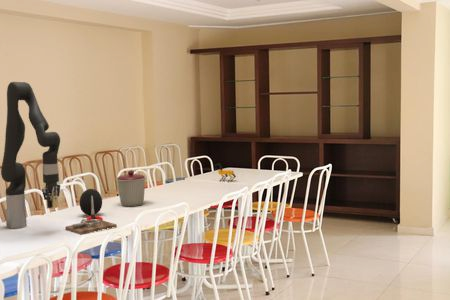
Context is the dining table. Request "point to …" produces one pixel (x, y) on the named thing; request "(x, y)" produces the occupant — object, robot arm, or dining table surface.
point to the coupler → (54, 202)
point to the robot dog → (225, 173)
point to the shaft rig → (90, 226)
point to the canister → (131, 189)
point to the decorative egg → (86, 201)
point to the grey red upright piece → (93, 212)
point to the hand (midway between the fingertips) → (52, 206)
